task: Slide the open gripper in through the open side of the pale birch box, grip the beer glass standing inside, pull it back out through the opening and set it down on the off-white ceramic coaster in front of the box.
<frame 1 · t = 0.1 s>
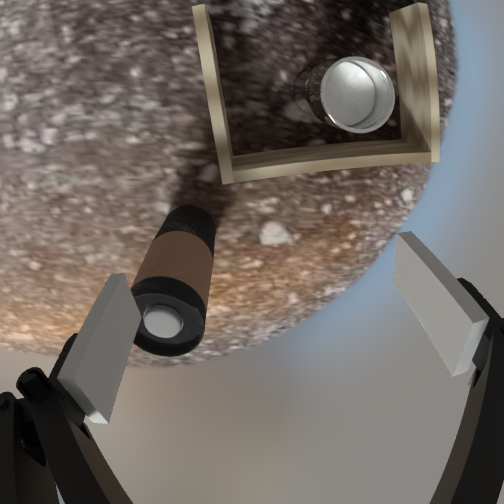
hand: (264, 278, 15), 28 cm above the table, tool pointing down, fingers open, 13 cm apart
beer glass: (316, 91, 36), on the table
travel mug: (189, 228, 44), on the table
open side box: (315, 76, 35), on the table
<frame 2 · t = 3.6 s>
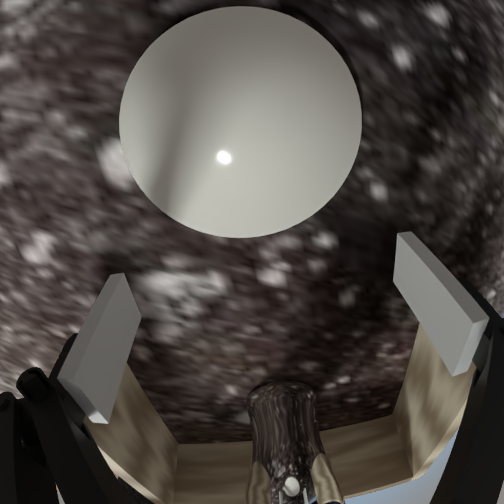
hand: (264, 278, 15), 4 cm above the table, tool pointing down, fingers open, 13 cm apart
beer glass: (281, 399, 26), on the table
travel mug: (147, 469, 34), on the table
open side box: (279, 387, 25), on the table
coaster: (240, 122, 15), on the table
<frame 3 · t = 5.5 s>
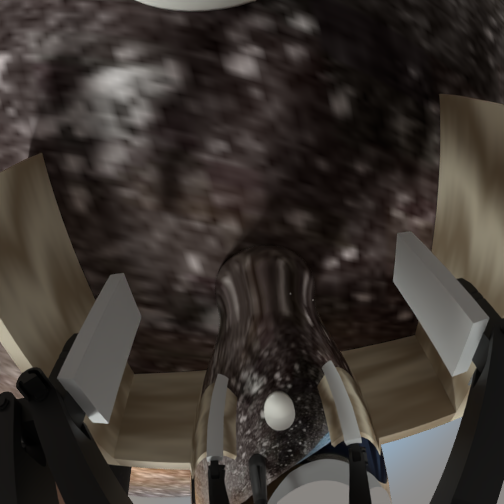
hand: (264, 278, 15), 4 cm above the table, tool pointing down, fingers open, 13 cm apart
beer glass: (264, 285, 20), on the table
travel mug: (105, 424, 28), on the table
open side box: (260, 260, 19), on the table
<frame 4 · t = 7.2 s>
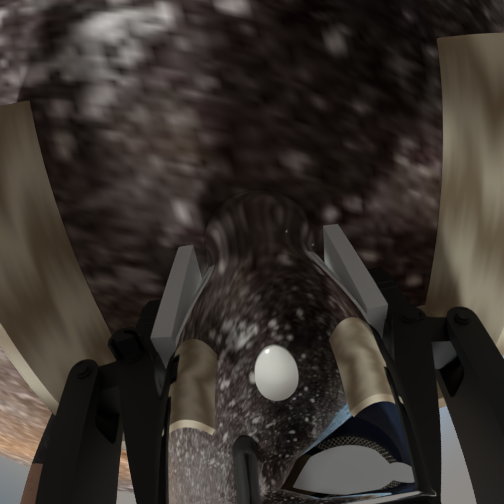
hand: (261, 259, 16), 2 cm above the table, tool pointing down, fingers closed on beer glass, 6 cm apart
beer glass: (259, 239, 18), on the table, touching gripper
travel mug: (91, 410, 27), on the table
open side box: (254, 208, 17), on the table
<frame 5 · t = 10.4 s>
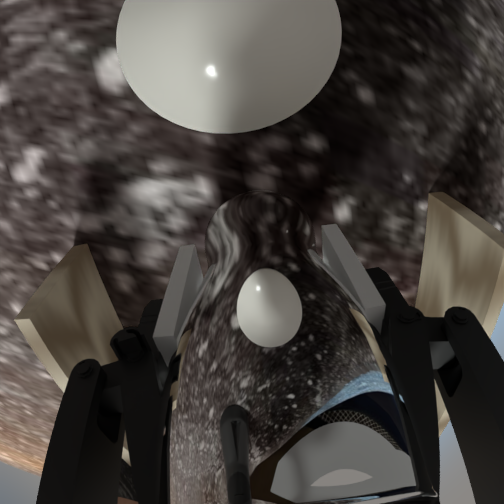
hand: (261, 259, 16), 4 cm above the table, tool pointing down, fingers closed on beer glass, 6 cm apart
beer glass: (259, 239, 18), point 1 cm above the table, touching gripper
travel mug: (134, 444, 33), on the table
open side box: (274, 328, 23), on the table
coaster: (227, 28, 14), on the table
when the fingers open (4 cm above the table, at t = 13.4 s): beer glass drops 1 cm, resting on coaster.
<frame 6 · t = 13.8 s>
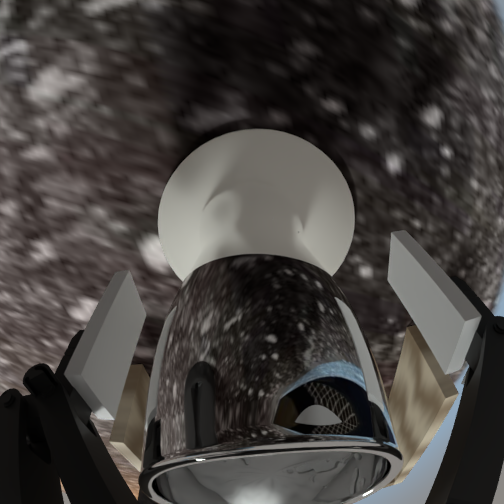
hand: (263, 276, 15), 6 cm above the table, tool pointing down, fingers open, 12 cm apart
beer glass: (250, 228, 19), resting on coaster
travel mug: (165, 475, 39), on the table
open side box: (283, 410, 29), on the table
coaster: (257, 226, 20), on the table
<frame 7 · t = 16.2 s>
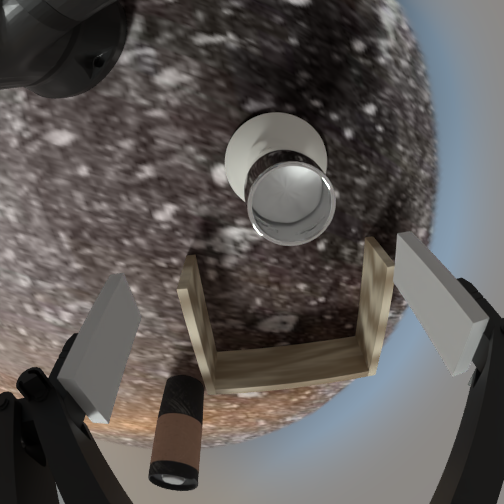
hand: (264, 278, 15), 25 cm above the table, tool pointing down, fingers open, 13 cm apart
beer glass: (273, 162, 37), resting on coaster
travel mug: (185, 386, 55), on the table
open side box: (285, 301, 46), on the table
coaster: (276, 162, 37), on the table
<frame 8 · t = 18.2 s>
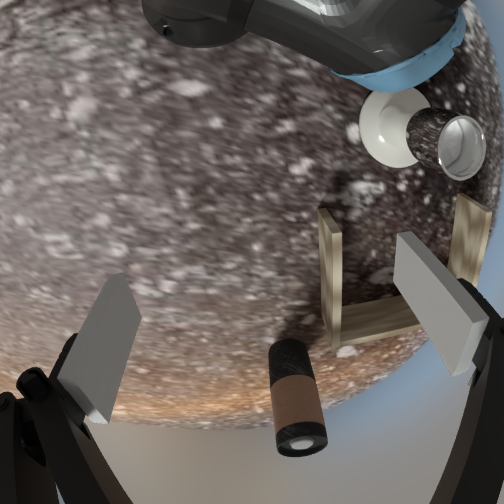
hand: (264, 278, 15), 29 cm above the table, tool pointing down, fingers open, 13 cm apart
beer glass: (396, 124, 38), resting on coaster
travel mug: (287, 351, 57), on the table
open side box: (395, 252, 48), on the table
coaster: (398, 125, 38), on the table
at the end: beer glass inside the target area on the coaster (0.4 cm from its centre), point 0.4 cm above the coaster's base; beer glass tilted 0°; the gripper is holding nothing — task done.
